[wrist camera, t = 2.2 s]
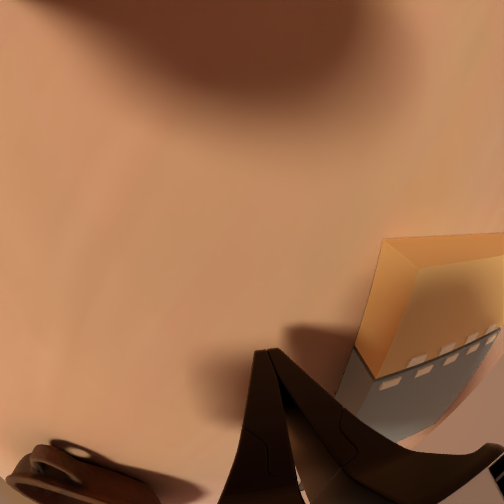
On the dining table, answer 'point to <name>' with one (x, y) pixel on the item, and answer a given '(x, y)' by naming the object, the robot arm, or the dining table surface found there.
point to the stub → (431, 299)
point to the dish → (74, 481)
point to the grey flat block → (410, 389)
